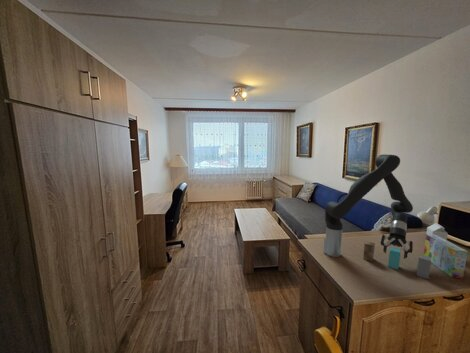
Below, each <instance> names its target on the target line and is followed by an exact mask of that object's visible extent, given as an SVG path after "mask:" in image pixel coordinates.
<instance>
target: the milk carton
mask: <svg viewBox="0 0 470 353" xmlns="http://www.w3.org/2000/svg"><path fill="white" fill-rule="evenodd" d="M426 234H431V235H437V236H439V237H441V238H443V239H445V240H447V241H448V232H447V231H446V230H445V227H444V226H442V225H440V224H439V223H437V222H434V223H433V224H431V225H429V226H427V227H426ZM426 234H425V235H426Z"/></svg>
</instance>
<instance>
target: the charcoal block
mask: <svg viewBox="0 0 470 353" xmlns="http://www.w3.org/2000/svg"><path fill="white" fill-rule="evenodd" d="M431 265H432V263H431V257H427V256H423V255H422V254H418V259H417V267H416V276H418V277H420V278H423V279H427V280H429V279H430V272H431Z"/></svg>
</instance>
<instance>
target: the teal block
mask: <svg viewBox="0 0 470 353" xmlns="http://www.w3.org/2000/svg"><path fill="white" fill-rule="evenodd" d="M401 250H402V249H399V248H395V247H392V246H390V248H389V255H388V263H387V267H388V268H390V269H393V270H394V269H395V270H399V268H400V260H401Z"/></svg>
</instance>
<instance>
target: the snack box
mask: <svg viewBox="0 0 470 353" xmlns="http://www.w3.org/2000/svg"><path fill="white" fill-rule="evenodd" d="M468 253H469V251H467V250H466V249H464V248H462V247H460V246H458V245H456V244H454V243H452V242H450V241H449V240H448V239H447V240H445V239H443V238H441V237H439V236H437V235H431V234H425V241H424V249H423V256H427V257H431V264H432V265H434V266H435V267H437V268H438V269H440V270H441V271H443V272H444V273H445V274H446V275H448V276H450V278H455V279H464V274H465V269H466V264H467V259H468Z"/></svg>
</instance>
